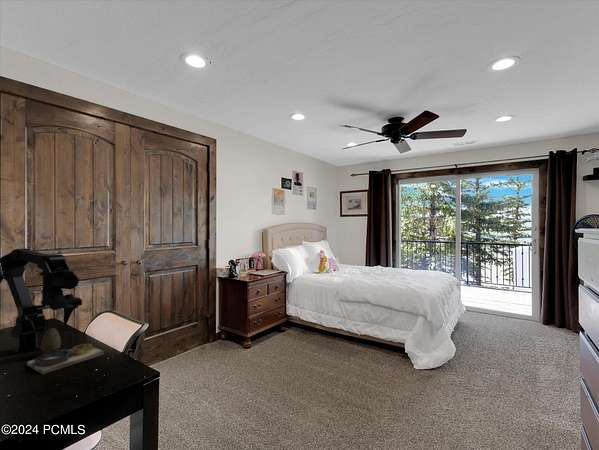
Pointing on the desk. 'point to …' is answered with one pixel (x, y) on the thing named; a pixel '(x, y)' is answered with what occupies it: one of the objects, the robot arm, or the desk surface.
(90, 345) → the narrow collar
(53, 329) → the decorative egg
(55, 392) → the desk surface
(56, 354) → the collar
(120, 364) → the desk surface
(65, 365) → the fitting board
